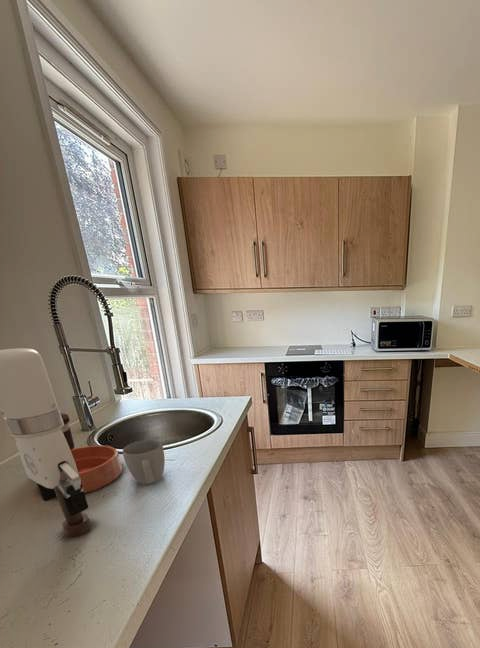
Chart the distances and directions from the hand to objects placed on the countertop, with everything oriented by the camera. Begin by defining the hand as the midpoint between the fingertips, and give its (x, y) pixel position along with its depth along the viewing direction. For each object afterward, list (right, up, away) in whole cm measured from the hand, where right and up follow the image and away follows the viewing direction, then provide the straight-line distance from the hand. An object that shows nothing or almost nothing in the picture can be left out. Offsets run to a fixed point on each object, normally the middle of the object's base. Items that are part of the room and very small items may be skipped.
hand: (65, 504), depth 67 cm
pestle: (+1, -6, +3) cm, 7 cm away
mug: (+7, +1, +20) cm, 21 cm away
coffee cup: (-25, +5, +31) cm, 40 cm away
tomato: (-9, +3, +19) cm, 21 cm away
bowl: (-12, +1, +22) cm, 25 cm away
